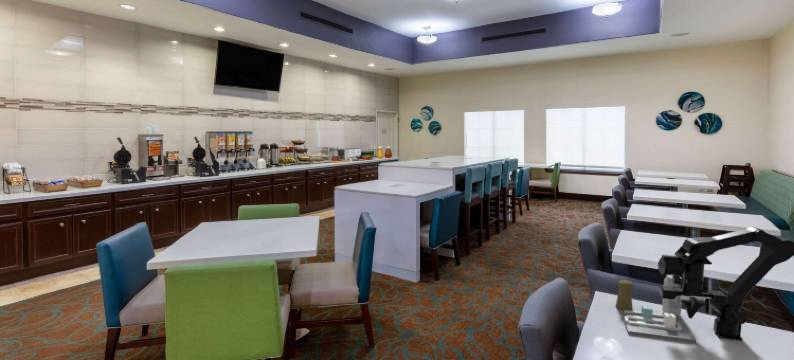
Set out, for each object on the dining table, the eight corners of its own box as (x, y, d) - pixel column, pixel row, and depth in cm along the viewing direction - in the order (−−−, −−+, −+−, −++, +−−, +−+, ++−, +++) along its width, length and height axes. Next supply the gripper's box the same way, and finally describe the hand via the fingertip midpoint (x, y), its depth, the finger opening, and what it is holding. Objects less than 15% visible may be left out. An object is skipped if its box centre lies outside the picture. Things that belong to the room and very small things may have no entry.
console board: (681, 321, 154) (682, 308, 153) (695, 343, 139) (697, 328, 138) (621, 314, 161) (621, 301, 160) (628, 334, 146) (629, 320, 145)
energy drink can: (676, 311, 163) (678, 274, 161) (683, 318, 157) (686, 280, 155) (659, 310, 164) (661, 273, 162) (666, 317, 158) (668, 279, 156)
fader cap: (672, 324, 149) (673, 313, 149) (675, 328, 147) (675, 316, 146) (663, 323, 150) (663, 312, 150) (665, 326, 148) (666, 315, 147)
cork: (635, 310, 164) (637, 284, 162) (620, 311, 164) (621, 284, 162) (627, 304, 170) (629, 278, 168) (612, 304, 170) (614, 278, 168)
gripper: (716, 270, 148) (713, 311, 150) (656, 265, 154) (654, 305, 157) (729, 281, 138) (725, 325, 140) (664, 275, 144) (661, 318, 146)
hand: (690, 317), depth 146 cm, fingers closed
